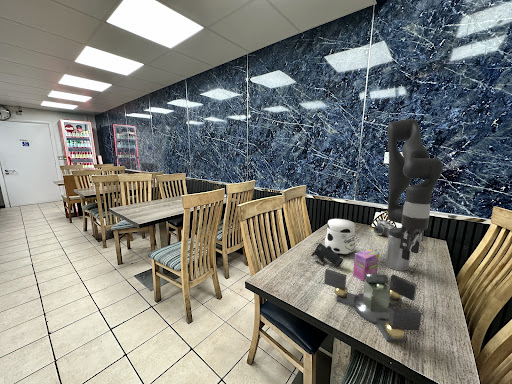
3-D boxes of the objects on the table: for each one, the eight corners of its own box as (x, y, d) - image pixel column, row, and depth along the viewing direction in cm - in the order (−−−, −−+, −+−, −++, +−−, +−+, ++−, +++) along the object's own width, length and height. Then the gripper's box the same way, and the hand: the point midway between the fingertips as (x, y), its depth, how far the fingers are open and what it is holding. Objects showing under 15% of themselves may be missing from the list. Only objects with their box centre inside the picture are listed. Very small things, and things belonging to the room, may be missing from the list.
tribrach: (394, 296, 83) (398, 265, 80) (437, 344, 61) (445, 304, 59) (332, 293, 84) (335, 262, 82) (354, 339, 63) (357, 300, 61)
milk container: (356, 259, 113) (359, 229, 109) (324, 254, 118) (326, 225, 115) (352, 246, 129) (354, 219, 126) (324, 242, 134) (326, 217, 131)
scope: (331, 274, 102) (341, 259, 99) (309, 255, 110) (318, 241, 107) (337, 270, 108) (346, 256, 105) (316, 252, 116) (325, 239, 113)
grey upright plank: (348, 291, 82) (349, 273, 80) (346, 298, 78) (347, 279, 76) (326, 284, 87) (327, 267, 85) (323, 290, 83) (324, 272, 81)
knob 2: (390, 339, 61) (394, 315, 59) (382, 326, 65) (384, 304, 64) (421, 341, 60) (425, 317, 59) (410, 327, 65) (414, 305, 63)
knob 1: (384, 294, 80) (386, 276, 79) (389, 289, 83) (392, 272, 82) (411, 307, 73) (414, 287, 72) (415, 302, 76) (418, 283, 74)
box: (363, 281, 92) (365, 258, 90) (352, 275, 97) (354, 253, 95) (377, 275, 97) (379, 253, 95) (366, 269, 102) (368, 248, 100)
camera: (368, 230, 157) (369, 218, 156) (381, 230, 157) (382, 217, 156) (381, 238, 142) (382, 224, 140) (394, 237, 142) (396, 224, 140)
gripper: (411, 209, 78) (406, 247, 81) (395, 215, 71) (390, 257, 74) (435, 213, 72) (429, 254, 75) (421, 220, 64) (414, 266, 67)
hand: (410, 255), depth 74 cm, fingers open, 8 cm apart
